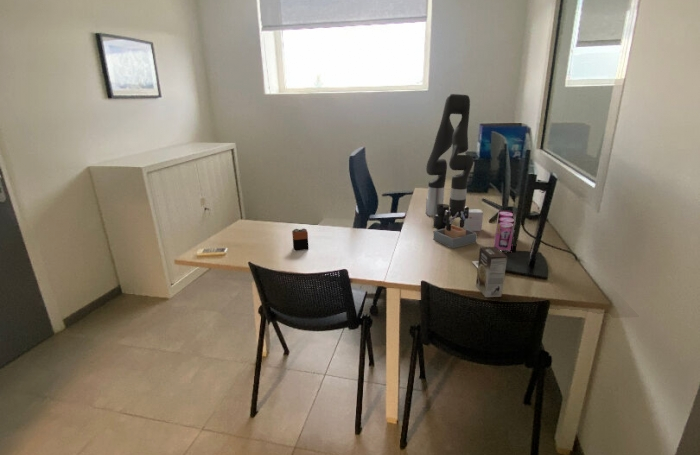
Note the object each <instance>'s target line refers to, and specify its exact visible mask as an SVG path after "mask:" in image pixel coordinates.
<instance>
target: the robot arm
mask: <svg viewBox="0 0 700 455" xmlns="http://www.w3.org/2000/svg"><path fill="white" fill-rule="evenodd" d="M470 108H471V100H470V96H469V95H468V94H459V93H450V94H448V96H446V99H445V104H444V107H443V112H442V117H441V121H440V124H439V127H438V130H437V133H436V136H435V138H434V139H435V140H434V144H433V148H432V151H431V153H430V155H429V158H428V160H427V163H426V170H425V171H426V173H427V174H428V175H429V176H436V177H435V178H433V179H431V180H429V181H428V186H427V188H428V189H427V197H426V199H425V200H426V202H425V203H426V204H425V214H426V215H427V216H429V217H433V218H434V214H435V213H436V207H437V205H438V204H444V197H445V186H446V178H447V171H448V170H447V169H448V165H449V168H450V169H451V171H462V172H461V173H458V174H454V175H452V178H451V186H450V187H451V188H450V191H449V202H448V203H449V204H448V205H449V206H450V207H449V211H446V210H445V211H444V218H443V222H445V223H446V229H447V230H448V231H451V225H452V222H453V221H454V220H455V219H457V218H459V219H460V220H459V225H458V226H459V227H461V228H464V225H465V220H466V219H468V216H469V209H470V208H469V206H466V204H467V187H468V180H469V176H470V174H471V173H470V172H471V170H472V168H473V166H474V157H472V156H471V154H464V153H466V152H467V151H468V150H469V137H468V136H469V134H468V132H469V131H468V130H469V120H470V110H471V109H470ZM451 115H461V119H460V121H459V123H458V124H457V126H456V127H455V128H454V127H453V124H452V122H451ZM451 147H452V150H451V151H452V152H451V156H450V158H449V161H448V162H447V160H446V159H445V158H440V157H442V156H443V155H444V154H445V153H446V152H447V151H449V150H450V148H451ZM449 220H450V221H449Z"/></svg>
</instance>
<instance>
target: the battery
mask: <svg viewBox="0 0 700 455" xmlns="http://www.w3.org/2000/svg"><path fill="white" fill-rule="evenodd" d="M291 234H292V245H293V250H294V251H296V252H297V251H305V250H309V234H308V229H307V228H300V229H299V228H294V229H293V230H292V232H291Z"/></svg>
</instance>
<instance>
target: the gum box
mask: <svg viewBox="0 0 700 455" xmlns="http://www.w3.org/2000/svg"><path fill="white" fill-rule="evenodd" d="M513 211H514V210H506V209H505V210H504V209H498V212H497V218H496V219H497V220H496V225H495V226H496V227H495V236H494V245H493V247H497V248H498V249H499V250H508V251H510V249H511V241H512V234H513V223H514V219H513Z"/></svg>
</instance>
